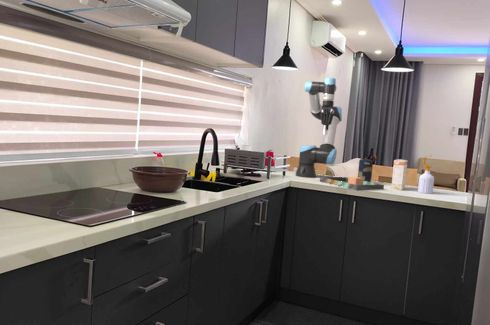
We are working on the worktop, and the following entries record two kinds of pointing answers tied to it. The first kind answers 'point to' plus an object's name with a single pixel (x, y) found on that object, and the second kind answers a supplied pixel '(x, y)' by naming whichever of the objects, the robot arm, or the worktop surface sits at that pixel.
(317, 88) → the robot arm
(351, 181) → the block
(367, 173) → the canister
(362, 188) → the trap channel
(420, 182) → the soap bottle
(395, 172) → the coffeecake box
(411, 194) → the worktop surface
